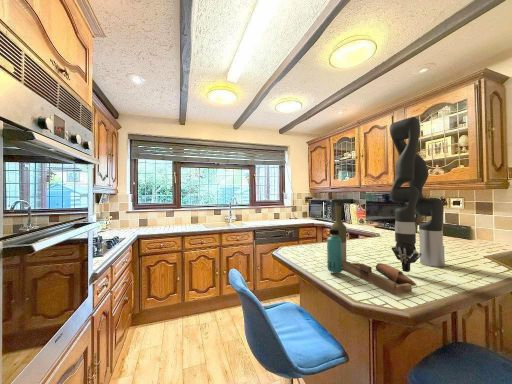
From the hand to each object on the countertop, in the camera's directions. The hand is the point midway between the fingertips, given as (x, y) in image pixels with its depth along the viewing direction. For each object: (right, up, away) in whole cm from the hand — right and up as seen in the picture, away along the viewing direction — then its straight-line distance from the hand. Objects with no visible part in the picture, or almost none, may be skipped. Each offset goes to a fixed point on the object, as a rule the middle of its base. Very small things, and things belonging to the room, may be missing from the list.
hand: (406, 271), depth 95 cm
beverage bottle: (-30, -2, +3) cm, 31 cm away
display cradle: (-17, -2, -4) cm, 18 cm away
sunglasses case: (-6, -2, -2) cm, 7 cm away
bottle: (-25, -2, +12) cm, 28 cm away
